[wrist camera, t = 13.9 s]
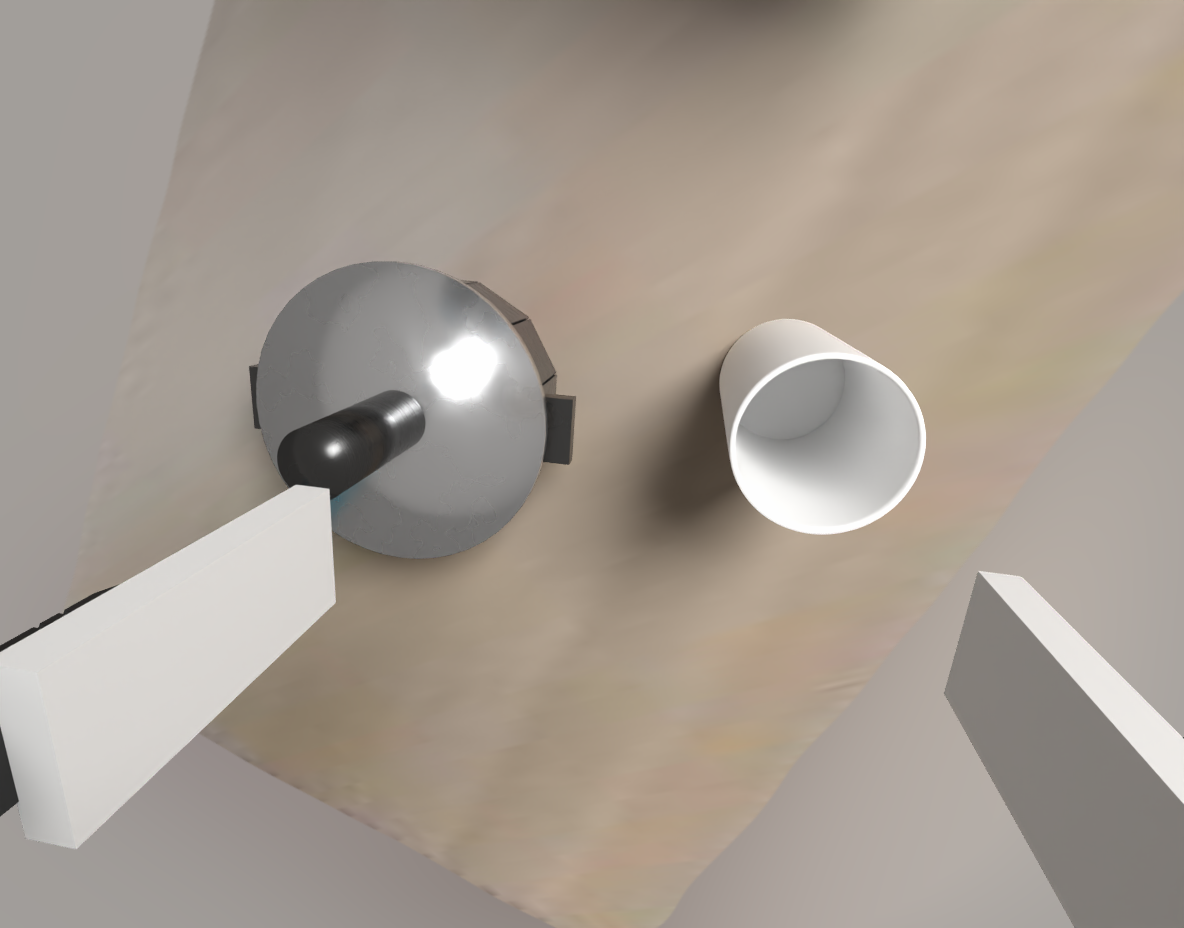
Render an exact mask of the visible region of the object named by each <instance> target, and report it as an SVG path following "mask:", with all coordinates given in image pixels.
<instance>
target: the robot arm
mask: <svg viewBox="0 0 1184 928" xmlns="http://www.w3.org/2000/svg"><path fill="white" fill-rule="evenodd" d="M335 603H336V599H335V581H334V563H333V545H332V527H331V509H330V491H329V489H327V488H319V487H311V486H303V485H295V486H293V487H291V488H289V489H287V490H286V491H284V492H282V493H280V494H279V495H277V496H275V497H273V498H272V499H270V500H268V501H266V502H265V503H263V504H261V505H259V506H257V507H256V508H254V509H252V510H250V511H249V512H247V513H245V514H243V515H242V516H240V517H238V518H236V519H235V520H233V521H231V522H229V523H227V524H226V525H224V526H222V527H220V528H219V529H217V530H215V531H213V532H212V533H210V534H208V535H206V536H204V537H203V538H201V539H199V540H197V541H196V542H194V543H192V544H190V545H189V546H187V547H185V548H183V549H182V550H180V551H178V552H176V553H174V554H173V555H171V556H169V557H167V558H166V559H164V560H162V561H160V562H159V563H157V564H155V565H153V566H152V567H150V568H148V569H146V570H144V571H143V572H141V573H139V574H137V575H136V576H134V577H132V578H130V579H129V580H127V581H125V582H123V583H121V584H119V585H117V586H114V587H111V588H108V589H105V590H102V591H99V592H97V593H94V594H92V595H90V596H89V597H87V598H85V599H83V600H81V601H80V602H78V603H76V604H74V605H72V606H71V607H69V608H67V609H65V610H64V613H63V614H60V613H58V614H56V615H55V616H53V617H51V618H49V619H47V620H45V621H44V622H42V623H40V625H39V627H38V628H34V627H33V628H31V629H29V630H28V631H26V632H24V633H22V634H20V635H18V636H17V637H15V638H13V639H11V640H10V641H8V642H6V643H4V644H2V645H1V646H0V816H1V815H3V814H4V813H5V812H6V811H8V810H9V809H10V808H11V807H13V806H14V805H15V804H16V803H17V807H18V811H19V815H20V819H21V822H22V827H23V831H24V835H25V838H26V839H29V840H34V841H39V842H43V843H48V844H53V845H58V846H62V847H67V848H72V849H77V848H78V847H79V846H80V845H81V844H83V843H84V842H85V841H86V840H87V839H88V838H89V837H90V836H91V835H92V834H93V833H94V832H95V831H96V830H97V829H98V828H99V827H100V826H101V825H103V824H104V823H105V821H107V820H108V819H109V818H110V817H111V816H112V815H113V814H114V813H115V812H116V811H117V810H118V809H119V808H120V807H121V806H122V805H124V804H125V803H126V802H127V801H128V800H129V799H130V798H131V797H132V796H133V795H134V794H135V793H136V792H137V791H138V790H139V789H140V788H141V787H142V786H143V785H145V784H146V783H147V782H148V781H149V780H150V779H151V778H152V777H153V776H154V775H155V774H156V773H157V772H158V771H159V770H160V769H161V768H162V767H163V766H165V764H167V763H168V762H169V761H170V760H171V759H172V758H173V757H174V756H175V755H176V754H177V753H178V752H179V751H180V750H181V749H182V748H183V747H184V746H186V744H188V743H189V742H190V741H191V740H192V739H193V738H194V737H195V736H196V735H197V734H198V733H199V732H200V731H201V730H202V729H203V728H204V727H206V726H207V725H208V724H209V723H210V722H211V721H212V720H213V719H214V718H215V717H216V716H217V715H218V714H219V713H220V712H221V711H222V710H223V709H224V708H225V707H227V706H228V705H229V704H230V703H231V702H232V701H233V700H234V699H235V698H236V697H237V696H238V695H239V694H240V693H241V692H242V691H243V690H244V689H245V688H247V687H248V686H249V685H250V684H251V683H252V682H253V681H254V680H255V679H256V678H257V677H258V676H259V675H260V674H261V673H262V672H263V671H264V670H265V669H266V668H268V667H269V666H270V665H271V664H272V663H273V662H274V661H275V660H276V659H277V658H278V657H279V656H280V655H281V654H282V653H283V652H284V651H285V650H286V649H287V648H289V647H290V646H291V645H292V644H293V643H294V642H295V641H296V640H297V639H298V638H299V637H300V636H301V635H302V634H303V633H304V632H305V631H306V630H307V629H309V628H310V627H311V626H312V625H313V624H314V623H315V622H316V621H317V620H318V619H319V618H320V617H321V616H322V615H323V614H324V613H325V612H326V611H327V610H328V609H330V608H331V607H332V606H333V605H334V604H335ZM944 694H945V696H946V698H947V700H948V701H949V703H950V705H951V707H952V709H953V711H954V712H955V714H956V716H957V718H958V719H959V721H960V723H961V725H962V727H963V728H964V730H965V732H966V734H967V736H968V737H969V739H970V741H971V743H972V745H973V746H974V748H975V750H976V752H977V754H978V755H979V757H980V759H981V761H982V762H983V764H984V766H985V767H986V770H987V772H988V773H989V775H990V777H991V779H992V780H993V782H994V784H995V786H996V788H997V789H998V791H999V793H1000V795H1001V797H1002V798H1003V800H1004V802H1005V804H1006V806H1007V807H1008V809H1009V811H1010V813H1011V815H1012V816H1013V818H1014V820H1015V822H1016V824H1017V825H1018V827H1019V829H1020V831H1021V833H1022V834H1023V836H1024V838H1025V839H1026V841H1027V843H1028V845H1029V847H1030V849H1031V850H1032V852H1033V854H1034V856H1035V858H1036V859H1037V861H1038V863H1039V865H1040V867H1041V868H1042V870H1043V872H1044V874H1045V875H1046V877H1047V879H1048V881H1049V883H1050V884H1051V886H1052V888H1053V890H1054V892H1055V893H1056V895H1057V897H1058V899H1059V901H1060V903H1061V904H1062V906H1063V908H1064V910H1065V911H1066V913H1067V915H1068V917H1069V919H1070V920H1071V922H1072V924H1073V926H1074V928H1184V737H1181V736H1180V734H1179V733H1178V732H1177V731H1176V730H1174V728H1173V727H1172V726H1171V725H1170V724H1168V722H1167V721H1166V720H1165V719H1163V718H1162V716H1161V715H1160V714H1158V713H1157V711H1156V710H1155V709H1154V708H1153V707H1152V706H1151V705H1150V704H1148V702H1147V701H1145V699H1144V698H1143V697H1141V695H1139V694H1138V693H1137V692H1136V691H1135V690H1134V688H1133V687H1132V686H1130V684H1128V682H1127V681H1125V679H1124V678H1123V677H1122V676H1121V675H1119V674H1118V673H1117V671H1116V670H1114V669H1113V668H1112V667H1111V666H1110V665H1109V664H1108V663H1107V662H1106V661H1105V660H1104V659H1103V658H1102V657H1101V656H1100V655H1099V654H1098V653H1097V652H1096V651H1095V650H1094V649H1093V648H1092V647H1091V646H1090V645H1089V644H1088V643H1087V642H1086V641H1085V640H1084V639H1083V638H1082V637H1081V636H1080V635H1079V634H1078V633H1077V632H1076V631H1075V630H1074V629H1073V628H1072V627H1071V626H1070V625H1069V624H1068V623H1067V622H1066V621H1065V620H1064V619H1063V618H1062V617H1061V616H1060V615H1059V614H1058V613H1057V612H1056V611H1055V610H1054V609H1053V608H1052V607H1051V606H1050V605H1049V604H1048V603H1047V602H1046V601H1045V600H1044V599H1043V598H1042V597H1041V596H1040V595H1039V594H1038V593H1037V592H1036V591H1035V590H1034V589H1033V588H1032V587H1031V586H1030V585H1029V584H1028V583H1027V582H1026V581H1025V580H1024V579H1023V578H1022V577H1021V576H1014V575H1006V574H998V573H989V572H982V571H978V573H977V577H976V580H975V584H974V588H973V591H972V595H971V598H970V602H969V606H968V609H967V613H966V616H965V620H964V624H963V627H962V631H961V634H960V638H959V641H958V645H957V649H956V652H955V656H954V660H953V663H952V667H951V670H950V674H949V677H948V681H947V685H946V688H945V692H944Z"/></svg>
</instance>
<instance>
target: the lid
mask: <svg viewBox="0 0 1184 928" xmlns="http://www.w3.org/2000/svg"><path fill="white" fill-rule="evenodd" d="M256 401H257V411H258V417H259V424H260V427H261V431H262V435H263V438H264V442H265V444H266V447H267V449H268V452H269V455H270V457H271V460H272V461H273V463H274V465H275V467H276V469H277V471H278V473H279V475H280V476H281V478H282V479H283V481H284V482H285V484H286V485H287V487H288V488H291V487H293V486H295V485H303V486H311V487H319V488H327V489H329V491H330V509H331V527H332V531H333V532H335V533H336V534H338V535H340V536H341V537H343V538H345V539H346V540H348V541H350V542H352V543H354V544H357V545H359V546H361V547H363V548H366V549H369V550H372V551H375V552H378V553H381V554H385V555H390V556H395V557H401V558H414V559H421V558H436V557H442V556H447V555H452V554H455V553H458V552H461V551H464V550H467V549H470V548H472V547H474V546H476V545H478V544H480V543H482V542H484V541H485V540H487V539H488V538H490V537H491V536H492V535H494V534H495V533H497V532H498V531H499V530H500V529H501V528H502V527H504V526H505V525H506V524H507V523H508V522H509V521H510V520H511V519H512V518H513V516H514V515H515V514H516V513H517V511H518V510H519V509H520V508H521V507H522V505H523V504H524V502H525V501H526V499H527V497H528V496H529V494H530V492H531V491H532V489H533V487H534V485H535V483H536V480H537V478H538V476H539V473H540V471H541V467H542V464H543V460H544V456H545V452H546V444H547V436H548V413H547V407H546V400H545V393H544V390H543V386H542V382H541V379H540V375H539V372H538V370H537V368H536V365H535V363H534V360H533V358H532V356H531V354H530V352H529V350H528V348H527V347H526V345H525V343H524V341H523V340H522V338H521V336H520V335H519V334H518V332H517V331H516V330H515V328H514V327H513V326H512V324H511V323H510V322H509V320H508V319H507V318H506V317H505V316H504V315H503V314H502V313H501V312H500V311H499V310H498V309H497V308H496V306H495V305H494V304H493V303H491V302H490V301H489V300H488V299H486V298H485V297H484V296H483V295H481V294H480V293H479V292H478V291H476V290H475V289H473V288H472V287H470V286H468V285H467V284H465V283H464V282H462V281H460V280H459V279H457V278H454V277H452V276H450V275H448V274H446V273H443V272H441V271H439V270H435V269H432V268H429V267H425V266H422V265H418V264H411V263H405V262H367V263H360V264H353V265H350V266H347V267H343V268H340V269H337V270H334V271H332V272H330V273H328V274H326V275H323V276H321V277H319V278H317V279H316V280H315V281H313V282H312V283H310V284H309V285H307V286H306V287H304V288H303V289H302V290H301V291H300V292H299V293H298V294H296V295H295V296H294V297H293V298H292V299H291V300H290V301H289V302H288V304H287V305H286V306H285V307H284V309H283V310H282V311H281V312H280V314H279V315H278V317H277V318H276V320H275V322H274V324H273V325H272V327H271V329H270V331H269V333H268V335H267V338H266V341H265V343H264V346H263V348H262V352H261V356H260V361H259V365H258V372H257V381H256Z"/></svg>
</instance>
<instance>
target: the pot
mask: <svg viewBox="0 0 1184 928" xmlns="http://www.w3.org/2000/svg"><path fill="white" fill-rule="evenodd" d="M460 281H462V280H460ZM462 282H464V283H465V284H467V285H468V286H470V287H472V288H473V289H475V290H476V291H478V292H479V293H480V294H481V295H483V296H484V297H485V298H486V299H488V300H489V301H490V302H491V303H493V304H494V305H495V306H496V308H497V309H498V310H499V311H500V312H501V313H502V314H503V315H504V316H505V317H506V318H507V319H508V320H509V322H510V323H511V324H512V326H513V327H514V328H515V330H516V331H517V332H518V334H519V335H520V336H521V338H522V340H523V341H524V343H525V345H526V347H527V348H528V350H529V352H530V354H531V356H532V358H533V360H534V363H535V365H536V368H537V370H538V372H539V375H540V379H541V382H542V386H543V390H544V393H545V400H546V407H547V413H548V436H547V444H546V452H545V456H544V460H543V462H550V463H559V464H567V465H569V464H570V462H571V461H572V451H573V436H574V420H575V405H576V396H566V395H556V378H557V375H554V374H555V373H556V371H555V369H554V367H553V365H552V363H551V361H550V359H549V357H548V355H547V353H546V350H545V348H544V346H543V344H542V342H541V340H540V338H539V336H538V334H537V332H536V330H535V328H534V326H533V324H532V322H531V320H530V319H529V320H527V319H528V316H526V315H525V314H523V313H522V312H521V311H519V310H518V309H516V308H515V307H514V306H512V305H511V304H509V303H508V302H506V301H505V300H504V299H502V298H501V297H499V296H498V295H497V294H495V293H494V292H492V291H491V290H490V289H488V288H487V287H485V286H484V285H482V284H481V283H478V282H474V281H462ZM258 365H259V364H257V365H253V366H249V370H250V381H251V392H252V403H253V414H254V426H255V428H257V429H261V427H260V424H259V417H258V411H257V401H256V381H257V372H258Z"/></svg>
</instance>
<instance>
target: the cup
mask: <svg viewBox="0 0 1184 928" xmlns="http://www.w3.org/2000/svg"><path fill="white" fill-rule="evenodd" d="M719 387H720V396H721V403H722V410H723V417H724V424H725V431H726V438H727V445H728V451H729V458H730V463H731V468H732V471H733V474H734V477H735V479H736V482H737V484H738V486H739V487H740V489H741V491H742V493H743V494H744V496H745V497H746V499H747V500H748V501H749V502H750V503H751V505H752V506H753V507H754V508H755V509H756V510H758V511H759V512H760V513H761V514H762V515H764V516H765V517H766V518H768V519H769V520H771V521H773V522H775V523H776V524H778V525H780V526H783V527H785V528H788V529H791V530H794V531H798V532H803V533H809V534H836V533H843V532H847V531H851V530H854V529H857V528H860V527H863V526H865V525H868V524H870V523H872V522H873V521H875V520H877V519H879V518H880V517H882V516H883V515H885V514H886V513H887V512H889V511H890V510H891V509H893V508H894V507H895V506H896V505H897V504H898V503H899V502H900V501H901V500H902V499H903V497H904V496H905V495H906V494H907V492H908V491H909V490H910V488H911V487H912V485H913V483H914V482H915V480H916V478H917V476H918V473H919V471H920V468H921V466H922V463H923V458H924V454H925V446H926V433H925V425H924V420H923V416H922V413H921V410H920V408H919V406H918V403H917V401H916V400H915V398H914V396H913V395H912V393H911V392H910V390H909V389H908V388H907V386H906V385H905V384H904V383H903V382H902V381H901V380H900V379H899V378H898V377H897V376H896V375H895V374H894V373H893V372H891V371H890V370H889V369H887V368H886V367H884V366H883V365H881V364H879V363H878V362H876V361H875V360H873V359H871V358H870V357H868V356H866V355H865V354H863V353H861V352H860V351H858V350H856V349H855V348H853V347H851V346H850V345H848V344H846V343H845V342H843V341H841V340H840V339H838V338H836V337H835V336H833V335H831V334H830V333H828V332H826V331H825V330H823V329H821V328H820V327H818V326H816V325H814V324H811V323H809V322H806V321H802V320H797V319H778V320H773V321H769V322H765V323H763V324H760V325H758V326H756V327H754V328H752V329H751V330H749V331H748V332H746V333H745V334H744V335H742V336H741V337H740V338H739V339H738V340H737V341H736V342H735V344H734V345H733V346H732V347H731V349H730V350H729V352H728V354H727V355H726V357H725V360H724V362H723V365H722V368H721V372H720V380H719Z"/></svg>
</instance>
